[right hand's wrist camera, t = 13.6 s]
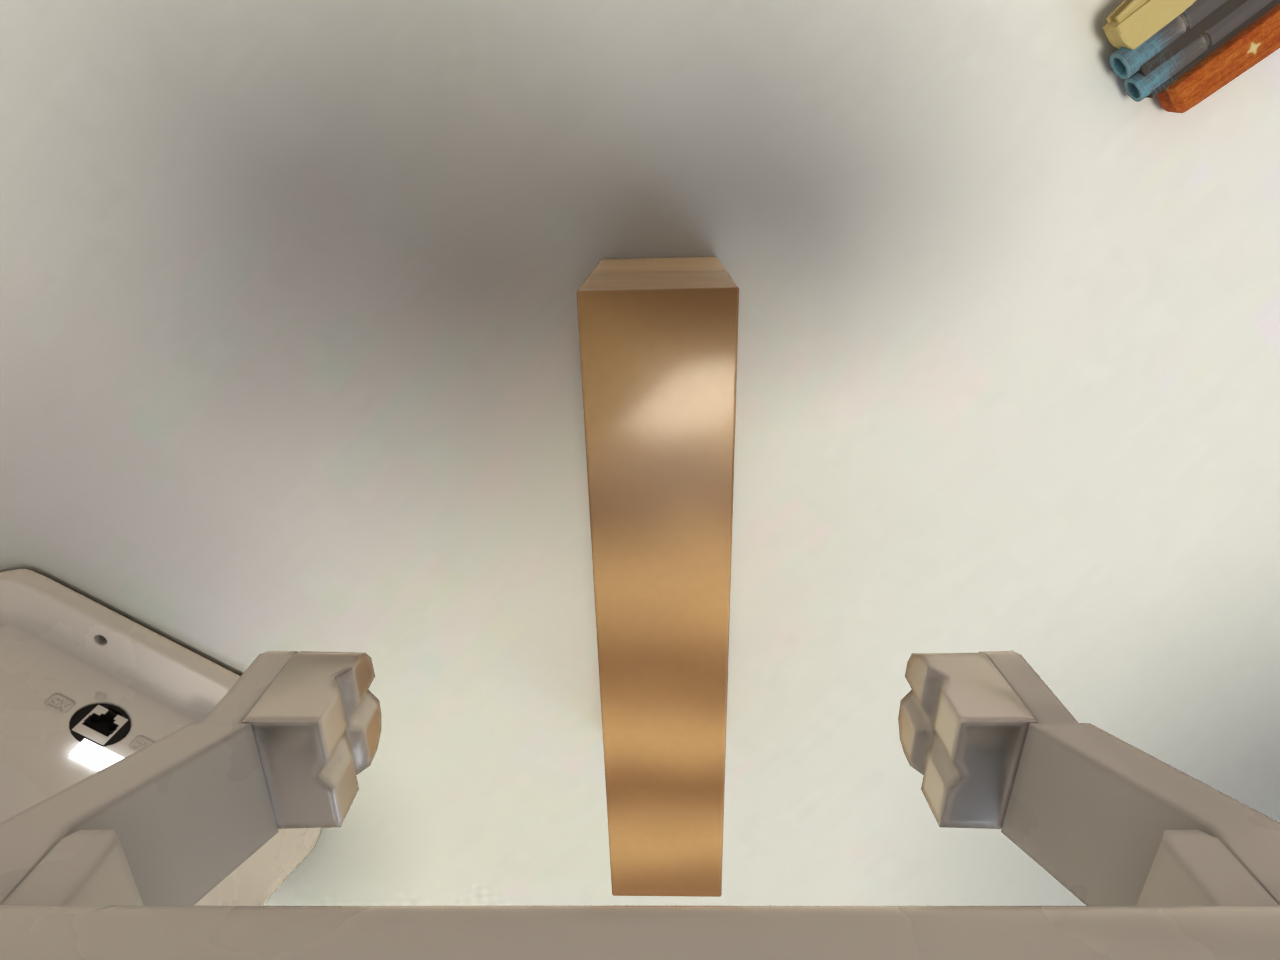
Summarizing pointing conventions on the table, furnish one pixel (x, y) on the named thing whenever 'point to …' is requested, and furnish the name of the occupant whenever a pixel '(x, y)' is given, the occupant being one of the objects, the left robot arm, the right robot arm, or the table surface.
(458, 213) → the table surface
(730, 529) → the bar
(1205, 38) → the toy gun
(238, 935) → the right robot arm
